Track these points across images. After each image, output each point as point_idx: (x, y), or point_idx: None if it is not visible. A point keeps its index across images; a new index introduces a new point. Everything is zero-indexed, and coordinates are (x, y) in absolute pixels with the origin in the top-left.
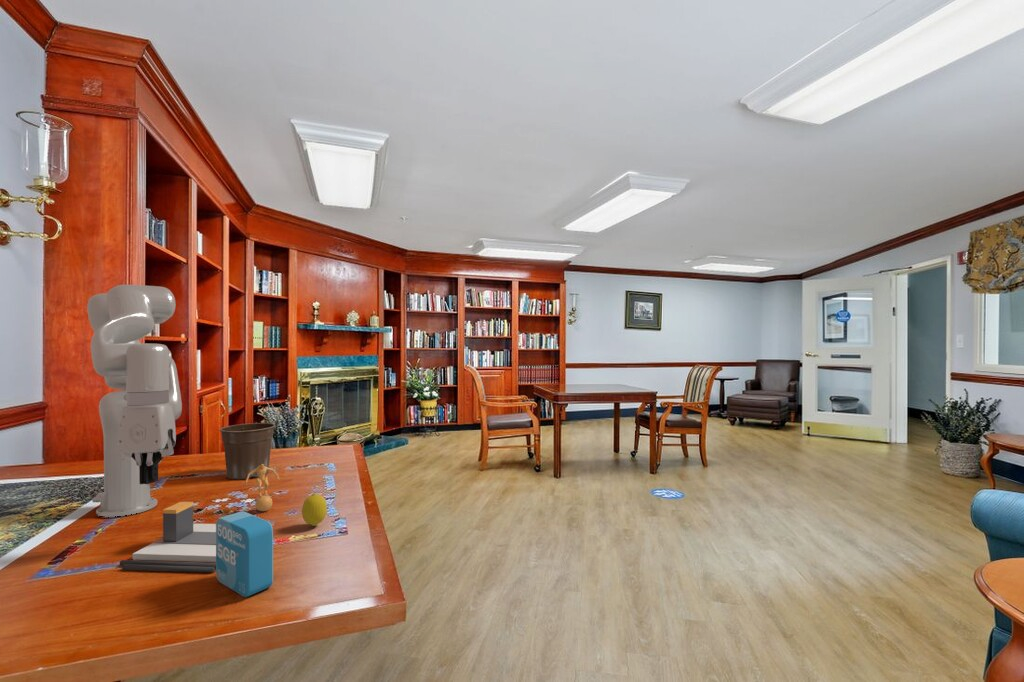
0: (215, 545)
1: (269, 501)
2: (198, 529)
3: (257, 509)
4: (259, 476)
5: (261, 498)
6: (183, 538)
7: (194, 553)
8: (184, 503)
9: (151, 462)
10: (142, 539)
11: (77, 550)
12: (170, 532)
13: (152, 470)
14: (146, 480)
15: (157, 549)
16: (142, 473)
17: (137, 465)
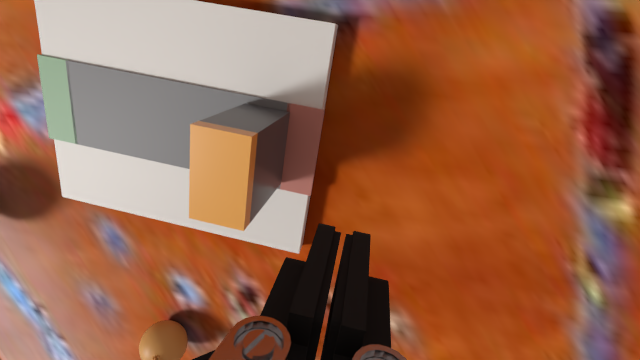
0: (116, 66)
1: (140, 341)
2: None
3: (181, 326)
4: None
5: (152, 350)
6: None
7: (136, 6)
8: (211, 205)
9: (225, 339)
10: (402, 186)
11: (579, 126)
12: (254, 112)
13: (268, 298)
14: (315, 234)
15: (273, 53)
16: (344, 279)
17: (397, 353)
